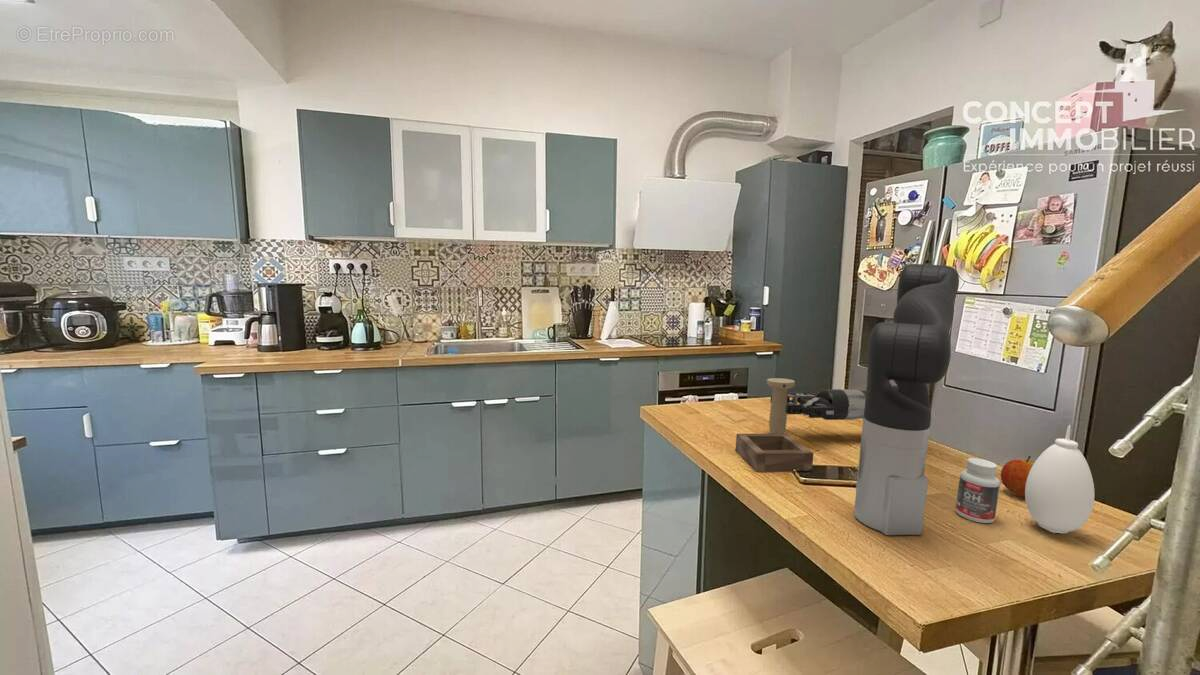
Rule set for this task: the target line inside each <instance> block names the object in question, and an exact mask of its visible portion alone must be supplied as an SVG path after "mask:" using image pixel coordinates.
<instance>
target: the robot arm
mask: <svg viewBox="0 0 1200 675" xmlns="http://www.w3.org/2000/svg"><path fill="white" fill-rule="evenodd" d="M897 283H898V285H897V293H896V295H897V296H896V307H895V309H894V312H893V316H892V317H893V322H888V321H885V322H884V321H882V322H878V323H877V324H875V325H874V327H873V328H872V330H871V333H870V335H869V339H868V346H867V372H866V373H867V374H866V389H865V390H858V389H857V390H856V389H841V388H840V389H838V388H836V389H833V388H831V389H829V388H828V389H821V390H819V392H818V393H817V395H816V396H815V395H814V394H813V395H812V394H808V393H807V392H787V405H786V411H785V412H786V413H787V415H802V416H805V417H806V416H808V418H810V419H815V418H816V419H821V418H822V419H823V420H824V421H825V420H826V421H852V420H862V428H861V435H860V436H861V438H860V447H859V456H858V457H859V458H858V466H857V478H856V486H855V487H856V488H855V496H854V497H855V498H854V508H853V515H854V517H855V518H856V519H857V520H858V521H859V522H860V523H862V524H864V525H865V526H867V527H869V528H871V529H873V530H875V531H879V532H880V533H882V534H884V535H885V536H907V535H908V536H915V535H918V536H920V535H922V534H923V528H924V519H925V512H926V503H927V495H928V494H927V493H928V487H929V478H928V477H927V476H925V471H926V470H925V469H926V463H927V453H928V446H929V438H930V437H929V436H930V430H931V429H930V428H931V423H932V412H931V411H930V398H929V397H930V396H929V389H928V385H929V384H937V383H938V382H940V381H941V380H942V379H943V378H944V377H945V375H946V373H947V372H948V369H949V366H950V361H951V356H952V353H951V352H952V349H951V348H952V347H951V345H952V344H951V335H950V334H951V332H950V331H951V327H952V324H953V321H954V320H953V319H954V314H955V313H954V312H955V310H954V302H955V299H956V297H957V294H958V290H959V286H960V276H959V273H958V271H957V270H956V268H954V267H952V266H951V265H945V264H944V265H942V264H926V263H925V264H923V263H909V264H906V265H905V266H904V267H903V268H902V270H901V271H900V275H899V280H898V282H897ZM890 380H891V381H893V382H894V383H895V384H896V385H892V384H891V382H890ZM790 398H792V399H790ZM769 401H770V404H771V403H772V395H771V396H770V400H769Z"/></svg>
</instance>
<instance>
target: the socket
mask: <svg viewBox="0 0 1200 675" xmlns="http://www.w3.org/2000/svg"><path fill="white" fill-rule="evenodd" d="M735 440H736V441H735V451H736V453H737V454H739V456H740V457H742V459H743V460H744V461H745V462H746V463H747V464H748V465H749V466H750V467H751V468H752V469H753V470H754V471H755V472H756V473H763V472H764V473H765V472H766V473H767V472H769V473H771V472H772V473H774V472H779V473H782V472H789V473H790V472H794V471H793V470H794V469H795V468H812V469H813V462H814V452H813V451H811V450H810V449H809V448H808V447H806V446H805V445H803V444H802V443H800V441H798V440H796V439H795V438H794V437H792V436H791V435H790V434H788V433H786V432H785V433H777V434H770V433H736V436H735Z"/></svg>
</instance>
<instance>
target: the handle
mask: <svg viewBox="0 0 1200 675" xmlns="http://www.w3.org/2000/svg"><path fill="white" fill-rule="evenodd" d="M766 385H767V387H769V388H771V389H772V395H771V396H772V403H771V402H770V411H769V420H768V421H769V422H768V424H769V425H768V426H769V428H768V429H769V434H777V433H786V432H785V431H786V427H787V423H788V422H787V418H788V414H787V413H786V412H785V411H786V405H787V392H788V391H789V390H791V389H793V388H795V387H796V382H795V380H793V379H790V378H789V379H788V378H779V377H778V378H776V377H775V378H774V377H772V378H767V379H766ZM788 393H789V392H788Z"/></svg>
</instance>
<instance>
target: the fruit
mask: <svg viewBox="0 0 1200 675" xmlns="http://www.w3.org/2000/svg"><path fill="white" fill-rule="evenodd" d="M1031 457H1032V456H1031V455H1028V458H1026V459H1021V458H1020V459H1018V458H1017V459H1011V460H1009V461H1007V462H1006V463H1004V465H1003V467H1002V468H1001V471H1000V480H1001V483H1002V484H1003V486H1004V488H1006V489H1007V490H1008V491H1009V492H1011V493H1012V494H1013V495H1015V496H1017V497H1019V498H1023V499H1025V487H1026V481H1027V477H1028V475H1029V472H1030V470H1031V468H1032V466H1033V464H1034V463H1035V461H1033V460H1030V459H1031Z"/></svg>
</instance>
